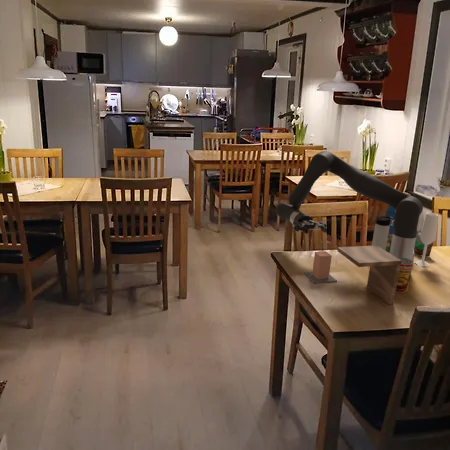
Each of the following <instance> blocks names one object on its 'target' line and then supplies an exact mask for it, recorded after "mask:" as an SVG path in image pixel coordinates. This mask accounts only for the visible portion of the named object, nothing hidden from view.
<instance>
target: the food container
mask: <svg viewBox="0 0 450 450" xmlns="http://www.w3.org/2000/svg"><path fill="white" fill-rule="evenodd" d="M421 230H422V229H420V230H417V236H416V241H415V246H414V251H413V253H414V254H415V253H416V254H415V255H417V254H418V256H420V255H423V250H424V245H425V244H424V243H423V242H422V241H421V239H420V233H421ZM433 245H434V242H432V243H431V244H428V245H427V250H426V255H425V256H429V257H430V256H431V251H432V249H433Z"/></svg>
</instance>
